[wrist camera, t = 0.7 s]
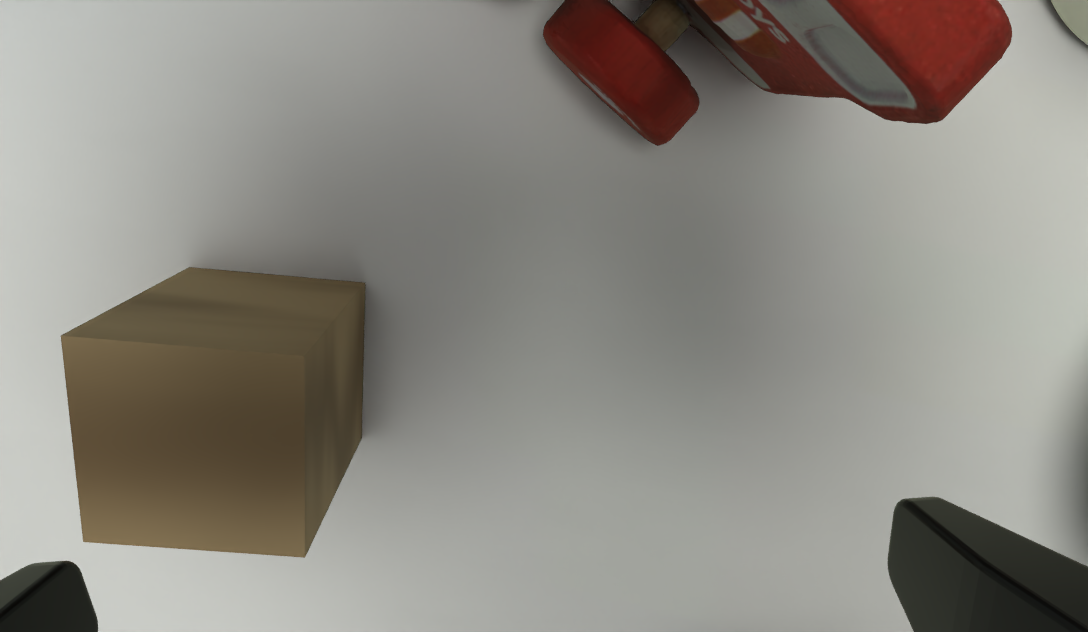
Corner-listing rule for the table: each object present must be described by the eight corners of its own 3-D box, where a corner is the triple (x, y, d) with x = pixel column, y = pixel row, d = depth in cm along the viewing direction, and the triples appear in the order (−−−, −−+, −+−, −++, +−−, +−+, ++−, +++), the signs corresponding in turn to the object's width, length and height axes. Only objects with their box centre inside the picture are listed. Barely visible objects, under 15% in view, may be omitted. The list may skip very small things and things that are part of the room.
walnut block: (361, 437, 22) (305, 557, 17) (197, 424, 22) (83, 542, 17) (365, 282, 21) (304, 355, 15) (190, 267, 21) (60, 335, 15)
